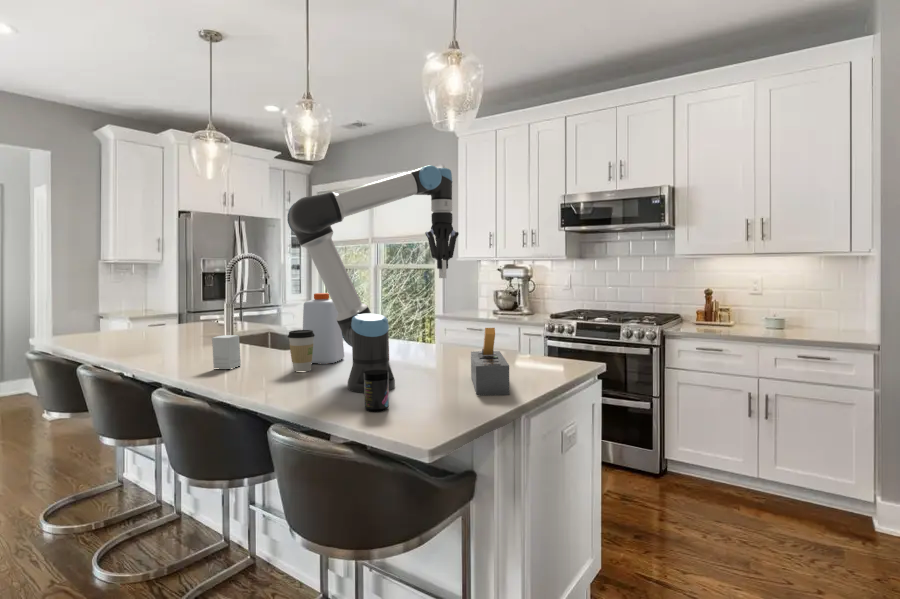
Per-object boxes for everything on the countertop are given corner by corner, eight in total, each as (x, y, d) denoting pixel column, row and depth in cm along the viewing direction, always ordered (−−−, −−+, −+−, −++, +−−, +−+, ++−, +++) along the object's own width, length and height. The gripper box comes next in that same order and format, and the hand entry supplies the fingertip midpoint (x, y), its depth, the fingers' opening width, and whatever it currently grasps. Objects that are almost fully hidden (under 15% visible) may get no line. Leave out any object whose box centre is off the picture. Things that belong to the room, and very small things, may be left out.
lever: (481, 350, 180) (484, 327, 170) (492, 350, 180) (495, 327, 170) (482, 356, 179) (484, 334, 169) (493, 356, 179) (496, 333, 169)
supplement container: (381, 413, 145) (380, 375, 144) (359, 411, 148) (358, 373, 147) (393, 407, 151) (392, 370, 151) (372, 405, 154) (371, 368, 153)
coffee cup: (321, 369, 206) (320, 330, 205) (301, 374, 197) (300, 333, 196) (303, 367, 211) (302, 329, 210) (283, 371, 203) (281, 332, 202)
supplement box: (241, 366, 214) (240, 335, 213) (229, 370, 207) (228, 337, 206) (224, 366, 215) (223, 334, 215) (212, 369, 208) (211, 337, 207)
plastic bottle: (347, 358, 230) (345, 292, 228) (333, 365, 215) (331, 294, 213) (313, 357, 232) (311, 292, 230) (297, 364, 218) (295, 294, 216)
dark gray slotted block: (468, 369, 203) (468, 344, 203) (495, 368, 203) (495, 343, 203) (476, 395, 163) (476, 364, 163) (509, 394, 164) (509, 364, 163)
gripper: (431, 210, 188) (432, 278, 190) (462, 212, 195) (463, 277, 197) (420, 212, 195) (421, 278, 196) (451, 213, 201) (452, 277, 203)
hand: (442, 278), depth 197 cm, fingers closed
